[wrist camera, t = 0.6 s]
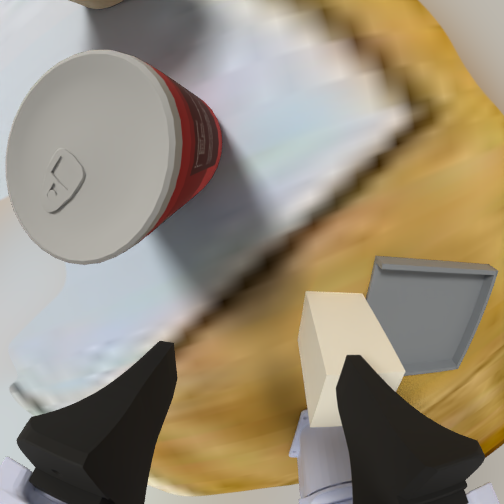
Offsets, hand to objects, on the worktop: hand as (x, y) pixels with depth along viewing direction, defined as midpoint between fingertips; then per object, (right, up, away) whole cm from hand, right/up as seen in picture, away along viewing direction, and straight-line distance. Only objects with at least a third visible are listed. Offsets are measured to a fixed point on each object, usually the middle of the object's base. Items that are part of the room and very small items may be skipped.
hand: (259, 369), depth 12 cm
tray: (+14, -1, +11) cm, 18 cm away
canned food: (-6, +12, +7) cm, 15 cm away
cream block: (+6, 0, +11) cm, 12 cm away
